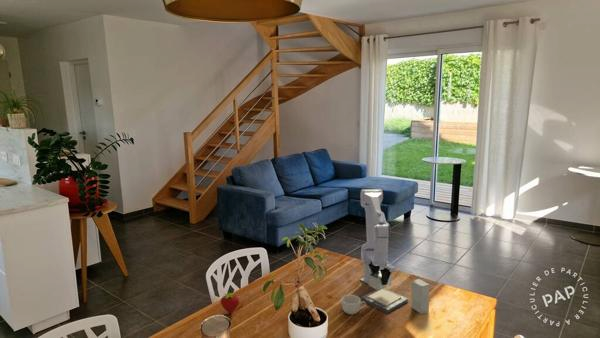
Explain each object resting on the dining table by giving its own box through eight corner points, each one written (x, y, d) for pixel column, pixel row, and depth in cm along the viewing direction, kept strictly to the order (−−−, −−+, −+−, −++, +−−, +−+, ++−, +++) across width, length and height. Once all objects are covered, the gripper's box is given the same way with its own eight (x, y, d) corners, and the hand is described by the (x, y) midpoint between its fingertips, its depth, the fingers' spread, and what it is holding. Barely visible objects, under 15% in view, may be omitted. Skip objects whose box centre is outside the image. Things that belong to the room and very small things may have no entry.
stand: (381, 290, 176) (381, 285, 176) (407, 301, 166) (407, 297, 165) (361, 300, 167) (361, 295, 167) (387, 313, 157) (387, 308, 156)
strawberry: (237, 318, 154) (236, 294, 153) (219, 317, 155) (218, 293, 154) (241, 310, 160) (240, 287, 159) (223, 309, 161) (222, 286, 159)
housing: (368, 285, 166) (369, 272, 165) (382, 280, 170) (383, 268, 169) (376, 289, 162) (377, 277, 161) (391, 285, 166) (391, 272, 165)
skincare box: (429, 312, 157) (430, 284, 155) (420, 314, 156) (422, 286, 153) (418, 305, 163) (419, 278, 161) (410, 307, 161) (411, 280, 159)
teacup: (342, 316, 155) (342, 304, 154) (340, 306, 162) (340, 294, 161) (367, 316, 155) (367, 304, 154) (364, 306, 162) (364, 294, 161)
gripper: (362, 248, 168) (361, 277, 170) (386, 259, 155) (385, 291, 158) (374, 245, 171) (374, 274, 174) (398, 255, 159) (397, 286, 161)
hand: (380, 281), depth 166 cm, fingers closed on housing, 5 cm apart
